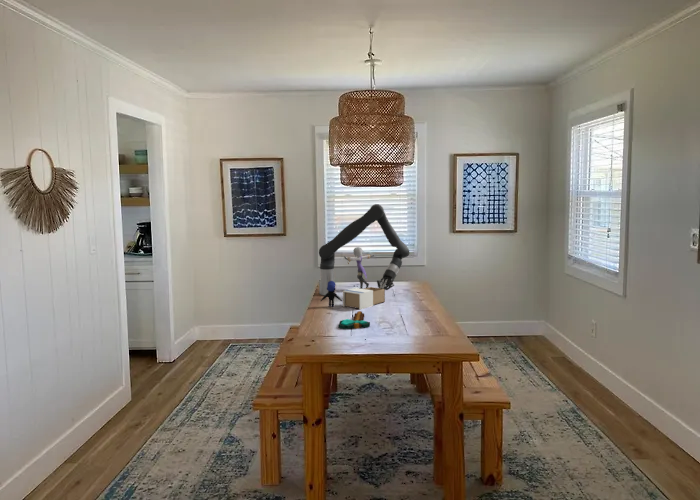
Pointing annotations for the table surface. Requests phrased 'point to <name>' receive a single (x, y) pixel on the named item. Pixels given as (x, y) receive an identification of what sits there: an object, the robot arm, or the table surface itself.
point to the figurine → (359, 265)
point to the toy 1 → (331, 293)
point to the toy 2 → (354, 322)
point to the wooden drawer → (353, 299)
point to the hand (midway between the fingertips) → (379, 294)
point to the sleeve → (361, 297)
